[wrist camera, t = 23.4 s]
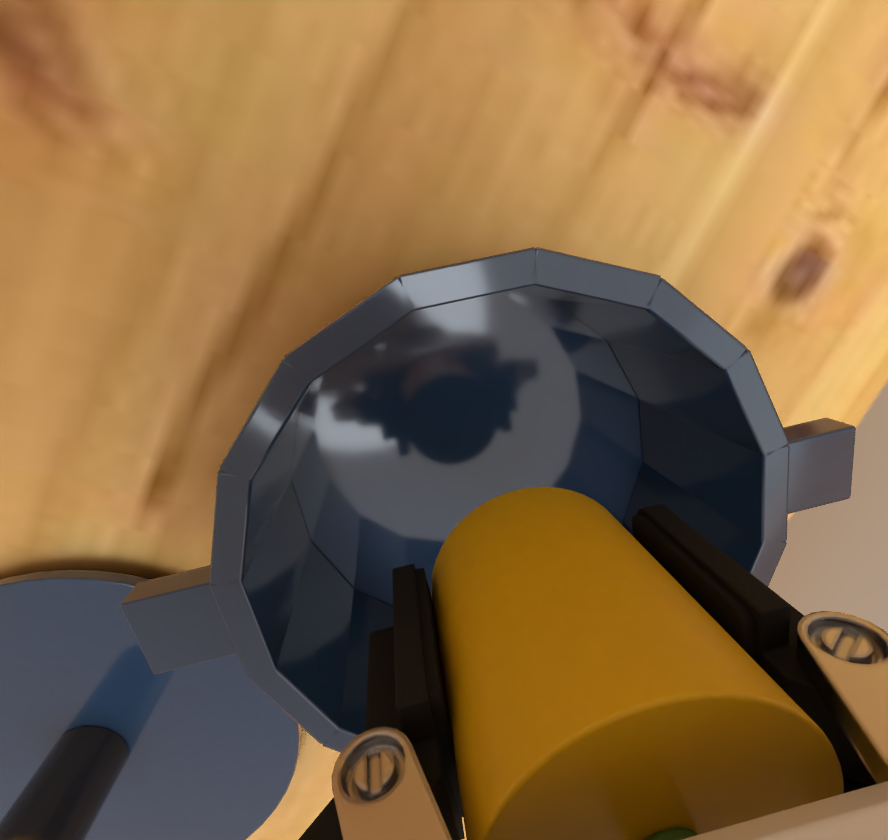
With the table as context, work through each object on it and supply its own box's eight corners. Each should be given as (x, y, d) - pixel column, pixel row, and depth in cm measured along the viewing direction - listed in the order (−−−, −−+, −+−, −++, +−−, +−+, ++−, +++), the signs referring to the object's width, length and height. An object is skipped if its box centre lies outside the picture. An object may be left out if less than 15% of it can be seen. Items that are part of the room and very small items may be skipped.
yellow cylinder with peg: (410, 514, 11) (450, 893, 4) (620, 463, 11) (981, 742, 4) (452, 683, 13) (531, 1162, 6) (635, 634, 13) (921, 1037, 6)
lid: (-208, 620, 18) (-472, 772, 12) (235, 516, 19) (174, 613, 13) (4, 897, 23) (-116, 1092, 17) (344, 803, 24) (332, 959, 18)
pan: (139, 330, 16) (-31, 365, 10) (707, 212, 17) (907, 169, 11) (275, 676, 21) (225, 860, 14) (715, 563, 22) (858, 683, 16)
